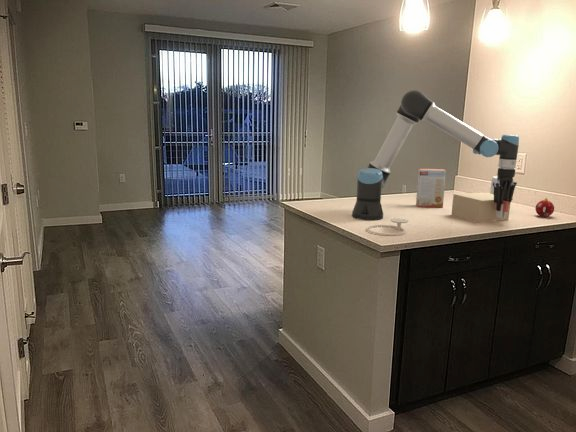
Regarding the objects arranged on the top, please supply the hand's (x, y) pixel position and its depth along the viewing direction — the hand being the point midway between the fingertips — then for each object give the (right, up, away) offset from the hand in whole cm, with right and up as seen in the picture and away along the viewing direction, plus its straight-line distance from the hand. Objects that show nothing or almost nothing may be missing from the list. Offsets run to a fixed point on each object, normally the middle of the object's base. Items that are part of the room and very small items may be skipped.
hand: (500, 217), depth 228 cm
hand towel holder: (-58, -6, -20) cm, 62 cm away
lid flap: (-4, +5, +8) cm, 10 cm away
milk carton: (+13, +4, +33) cm, 35 cm away
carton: (-5, 0, +12) cm, 13 cm away
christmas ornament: (+30, 0, +18) cm, 35 cm away
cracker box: (-23, +6, +38) cm, 45 cm away
